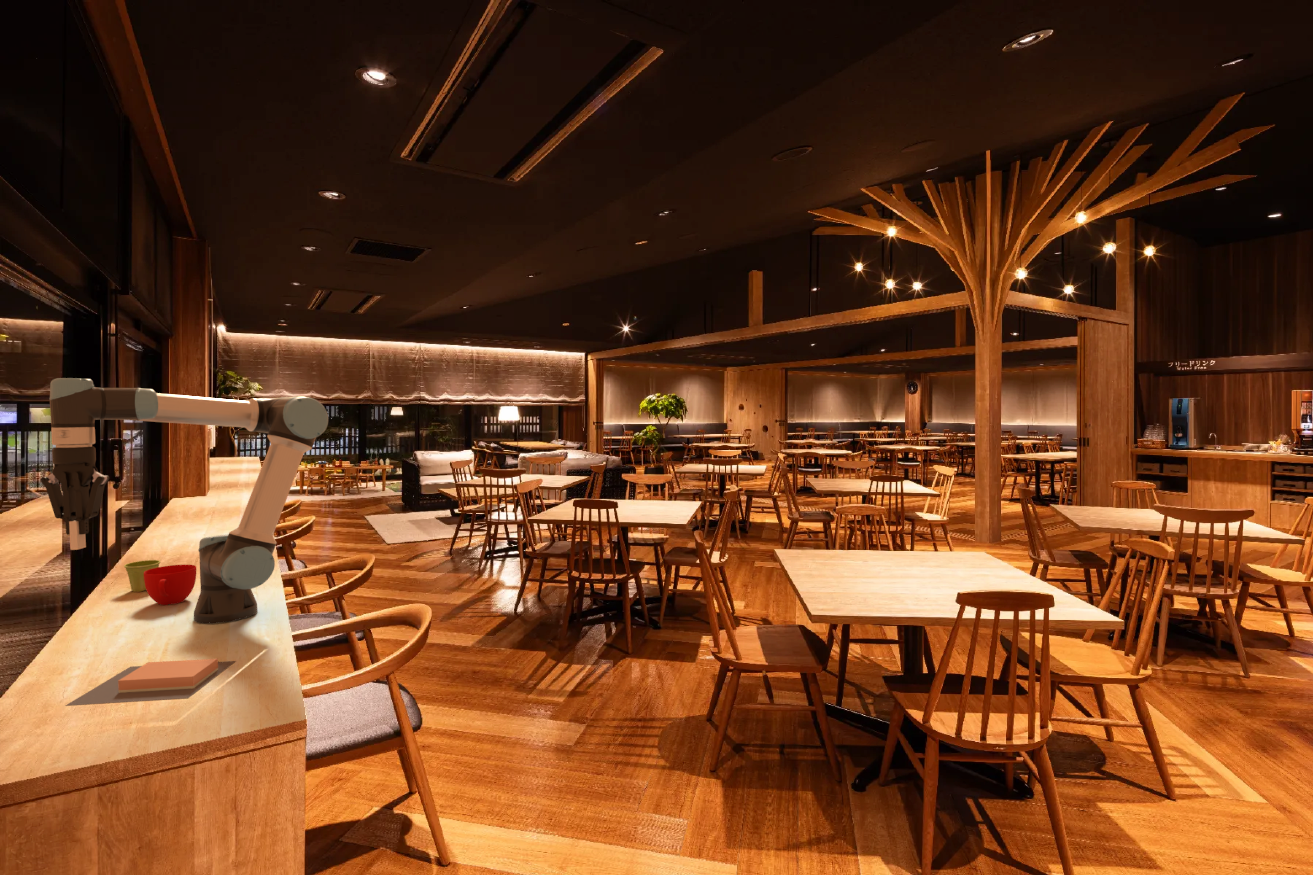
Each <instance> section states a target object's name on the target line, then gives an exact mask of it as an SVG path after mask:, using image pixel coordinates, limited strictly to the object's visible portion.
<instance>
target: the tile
mask: <svg viewBox="0 0 1313 875" xmlns="http://www.w3.org/2000/svg"><path fill="white" fill-rule="evenodd" d="M218 662H219V660H218V658H205V659H204V658H203V659H189V660H188V659H186V660H183V659H181V660H166V661H163V660H162V661H151V662H150V661H148V662H146V663H145V664H143V665H140V666H141V667H140V668H138V669H136V670H135V671H133V672H132V673H130V674H128V675H127V676H125V677H123V678H122V679H120V680H118V687H119V693H122V692H140V691H157V690H174V689H191V688H195V687H196V686H197V685H199V684H200V683H201V682H203V681H204V680H205V679H207V678H208V677H209V676H210V675H212V674H213V673H214V672H216V671H217V670H218Z"/></svg>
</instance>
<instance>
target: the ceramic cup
mask: <svg viewBox="0 0 1313 875" xmlns="http://www.w3.org/2000/svg"><path fill="white" fill-rule="evenodd" d="M196 579H197V566H196V565H194V564H171V565H164V566H163V565H162V566H159V567H157V568H153V569H149V570H147V571H145V572H144V582H145V587H146V590H145V591H146V592H147V594H148V596H149V598H151V600H153V601H154V602H155V603H156V604H157V605H159V604H161V606H168V604H170V605H176V604H180V603H183V602H184V601H186V599H187V598H188V597H189V596H190V595H191V593H192V592H193V590H194V587H195V585H196Z"/></svg>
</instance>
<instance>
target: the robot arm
mask: <svg viewBox="0 0 1313 875" xmlns="http://www.w3.org/2000/svg"><path fill="white" fill-rule="evenodd" d="M49 386H50V387H49V398H48V399H49V408H50V410H49V411H50V425H51V426H50V427H51V445H53V446H55V447H53V448H52V450H51V453H52V454H51V456H52V457H51V459H52V463H53V465H54V466H53V469H52V471H51V474H49V475H47V476H43V477H41V478H40V479H39V480H40V482H41V484H42V485H43V486H44V487H45V489H46V490H45V491H46V492H47V495H48V499H49V502H50V504H51V505H50V506H51V508H52V511H53V514H54V517H55V518H56V519H61V520H62V521H63V520H64V522H65V533H66V535H69V545H70V546H69V548H70V551H75V550H76V551H77V550H81V549H84V548H87V542H86V535H87V534H89V532H90V525H89V523H90V522H89V521H90V519H92V518H94V517H97V516H98V515H99V512H100V509H101V504H102V499H103V495H104V491H105V488H106V487H105V486H106V484H107V483H108V481H109V480H110V476H109V475H106V474H105V475H104V474H102V473H100V472H99V471H98V468H97V467H96V461H97V452H96V447H95V446H93V445H95V444H96V429H95V426H96V425H95V421H96V420H98V421H99V420H100V421H101V420H111V421H113V420H119V421H120V420H121V421H122V420H123V421H140V422H155V423H169V424H172V423H173V424H188V425H201V426H214V427H215V426H216V427H217V426H219V427H230V428H231V427H232V428H233V427H234V428H235V427H236V428H244V429H246V430H247V431H249V432H255V433H256V432H257V433H263V434H264V433H265V434H267V436H266V437H267V439H268V440H269V443H270V445H269V447H268V450H267V453H266V455H265V458H264V460H263V463H262V466H261V468H260V470H259V473H258V476H257V479H256V481H255V484H254V486H253V488H252V491H251V494H250V496H249V499H248V501H247V504H246V507H245V509H244V511H243V515H242V517H241V520H240V522H239V524H238V526H237V528H235V529H233V530H231V531H229V532H228V533H227V534H221V535H213V536H212V535H211V536H207V537H206V536H205V537H202V539H200V541H199V543H198V545H199V547H198V553H199V555H198V556H199V557H198V558H199V579H200V580H199V582H200V593H199V596H198V598H197V602H196V605H195V607H194V610H193V621H194V622H195V623H198V624H222V623H223V624H224V623H229V622H236V621H240V620H243V619H246V618H249V617H251V616H254V615H255V614H257V613H258V602H257V600H256V597H255V595H254V593H253V590H252V589H255V588H258V587H260V586H261V585H263V584H264V583H266V582H267V581H268V579H270V578H271V576H272V574H273V572H274V570H275V566H276V562H275V557H274V556H273V554H274V552H275V549H276V545H277V543H278V542H277V541H276V539H275V537H274V533H275V531H276V528H277V525H278V523H279V520H280V518H281V515H282V512H283V510H284V506H285V504H286V501H287V499H288V496H289V494H290V491H291V488H292V485H293V483H294V480H295V478H296V475H297V471H298V469H299V468H300V467H299V466H300V465H301V462H302V459H303V456H304V454H305V453H307V452H308V451H311V450H312V449H313V446H314V444H315V442H316V439H317V438H318V437H320V436H321V435H322V434H323V433H325V431H326V430H327V428H328V425H329V415H328V412H327V410H326V408H325V406H324V405H323V403H321V402H320V401H319V400H317V399H315V398H314V397H313V398H312V397H308V396H304V395H299V396H298V395H297V396H290V397H289V396H284V397H275V398H274V397H273V398H254V397H252V398H250V399H248V400H239V399H226V398H215V397H204V396H192V395H183V394H171V393H170V394H169V393H160V392H159V393H158V392H156V391H155V390H154V389H153V388H141V387H96V386H95V384H94V381H93V380H92V379H91V378H77V377H75V378H73V377H67V378H66V377H62V378H61V377H60V378H59V377H57V378H53V379H52V380H51V381H50V384H49ZM91 482H92V485H91ZM59 483H60V484H59Z"/></svg>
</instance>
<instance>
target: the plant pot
mask: <svg viewBox="0 0 1313 875" xmlns="http://www.w3.org/2000/svg"><path fill="white" fill-rule="evenodd" d="M160 563H161V560H158V559H149V560H148V559H147V560H137V561H132V562H129V563H125V564H124V565H123V567H124V568H125V570H126V573H127V577H128V580H129V584H130V589H131V591H132V592H134V593H136V592H137V593H141V592H143V591H147V590H146V587H145V582H144V572H145V571H147V570H149V569H153V568H157V567H160Z"/></svg>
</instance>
